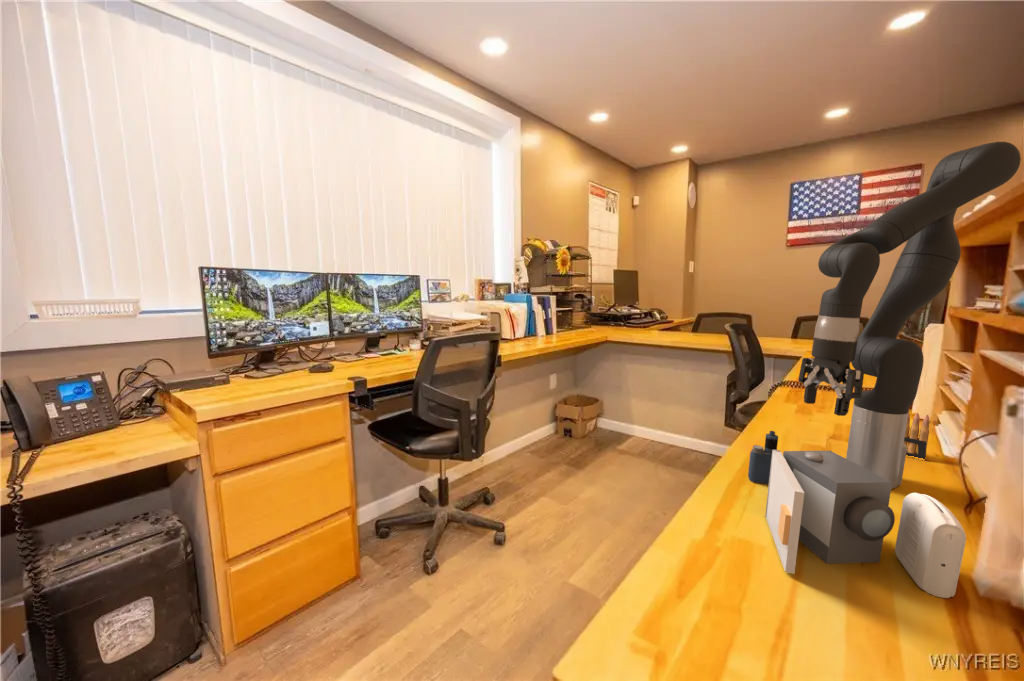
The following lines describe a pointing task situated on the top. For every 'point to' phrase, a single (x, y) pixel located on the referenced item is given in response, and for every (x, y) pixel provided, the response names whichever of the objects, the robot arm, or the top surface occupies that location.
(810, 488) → the block
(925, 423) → the ammunition clip
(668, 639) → the top surface
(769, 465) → the vaping device
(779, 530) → the side door
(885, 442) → the robot arm
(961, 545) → the photo printer
